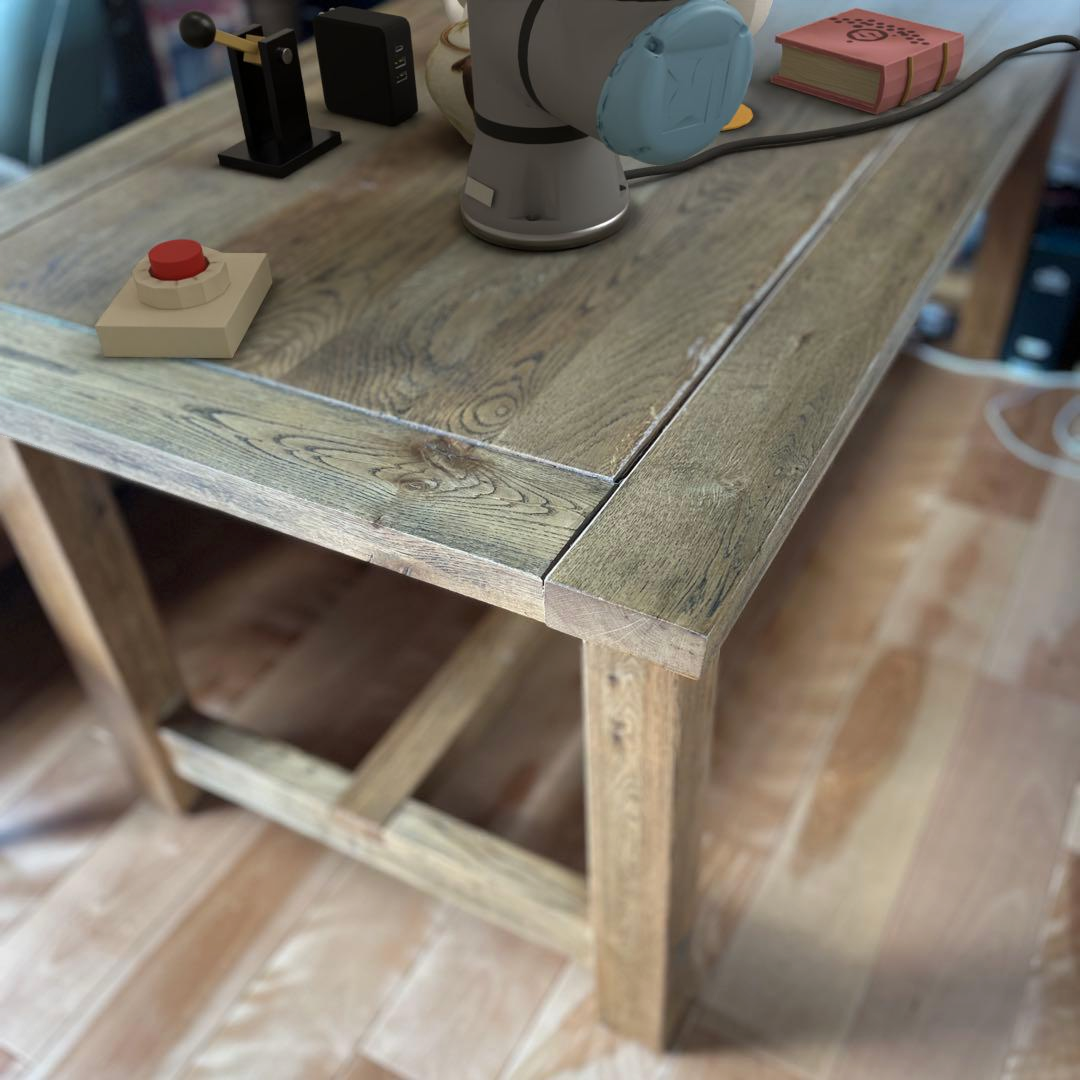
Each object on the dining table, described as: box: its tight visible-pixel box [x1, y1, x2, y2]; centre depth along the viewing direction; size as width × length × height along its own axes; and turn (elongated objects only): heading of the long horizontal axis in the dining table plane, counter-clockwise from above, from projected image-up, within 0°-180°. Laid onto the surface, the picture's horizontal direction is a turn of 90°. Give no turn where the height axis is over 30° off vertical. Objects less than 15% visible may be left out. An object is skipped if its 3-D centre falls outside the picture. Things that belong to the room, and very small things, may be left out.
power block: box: [94, 246, 273, 359], centre depth 87 cm, size 12×10×4 cm
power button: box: [147, 238, 206, 281], centre depth 85 cm, size 4×4×2 cm
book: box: [770, 7, 965, 115], centre depth 123 cm, size 14×15×5 cm
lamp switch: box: [217, 23, 343, 179], centre depth 110 cm, size 10×8×12 cm
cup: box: [720, 0, 774, 132], centre depth 113 cm, size 12×12×17 cm
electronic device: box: [312, 5, 419, 127], centre depth 119 cm, size 4×10×10 cm, turn 56°
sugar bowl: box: [424, 18, 476, 146], centre depth 111 cm, size 20×15×15 cm
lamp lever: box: [178, 9, 266, 67], centre depth 103 cm, size 12×3×3 cm, turn 152°
